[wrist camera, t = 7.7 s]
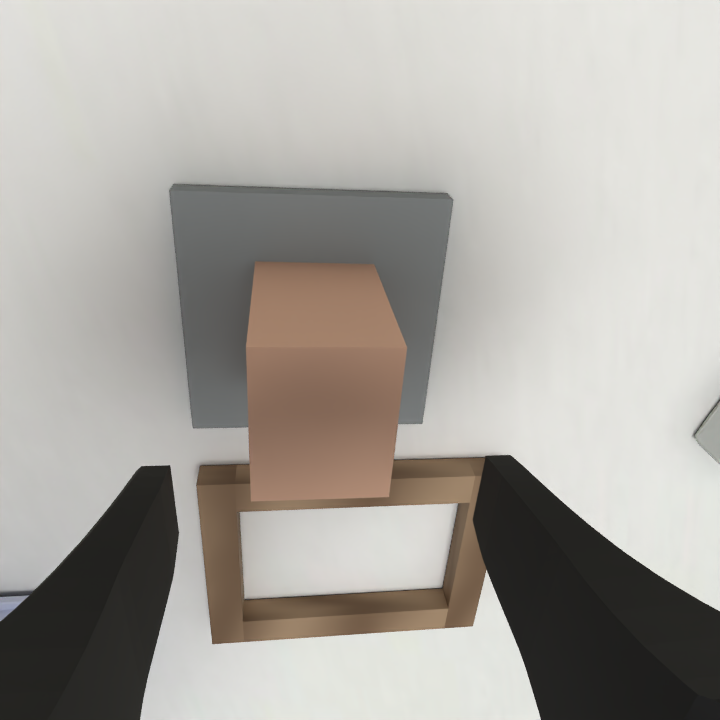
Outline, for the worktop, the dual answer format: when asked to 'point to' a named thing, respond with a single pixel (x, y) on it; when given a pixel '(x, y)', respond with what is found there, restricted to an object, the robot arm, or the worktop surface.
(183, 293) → the slate mat
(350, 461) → the terracotta block
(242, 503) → the walnut frame
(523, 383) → the worktop surface
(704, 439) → the skincare box
